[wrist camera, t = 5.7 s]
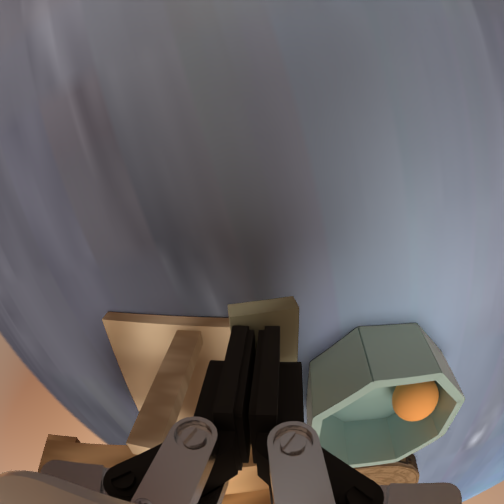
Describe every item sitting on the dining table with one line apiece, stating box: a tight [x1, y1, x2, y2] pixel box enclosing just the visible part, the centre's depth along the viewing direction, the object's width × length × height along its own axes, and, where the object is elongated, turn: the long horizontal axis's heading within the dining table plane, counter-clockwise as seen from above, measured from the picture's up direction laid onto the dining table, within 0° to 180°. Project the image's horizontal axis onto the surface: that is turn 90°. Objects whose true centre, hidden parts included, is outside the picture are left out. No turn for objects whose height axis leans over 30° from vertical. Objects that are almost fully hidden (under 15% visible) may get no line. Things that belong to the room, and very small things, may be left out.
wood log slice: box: [354, 454, 419, 485], centre depth 27 cm, size 16×16×3 cm
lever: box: [38, 296, 299, 504], centre depth 13 cm, size 14×16×3 cm
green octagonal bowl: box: [306, 323, 465, 468], centre depth 19 cm, size 10×10×5 cm
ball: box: [392, 381, 439, 421], centre depth 19 cm, size 4×4×4 cm
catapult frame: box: [102, 312, 231, 455], centre depth 18 cm, size 13×12×10 cm
